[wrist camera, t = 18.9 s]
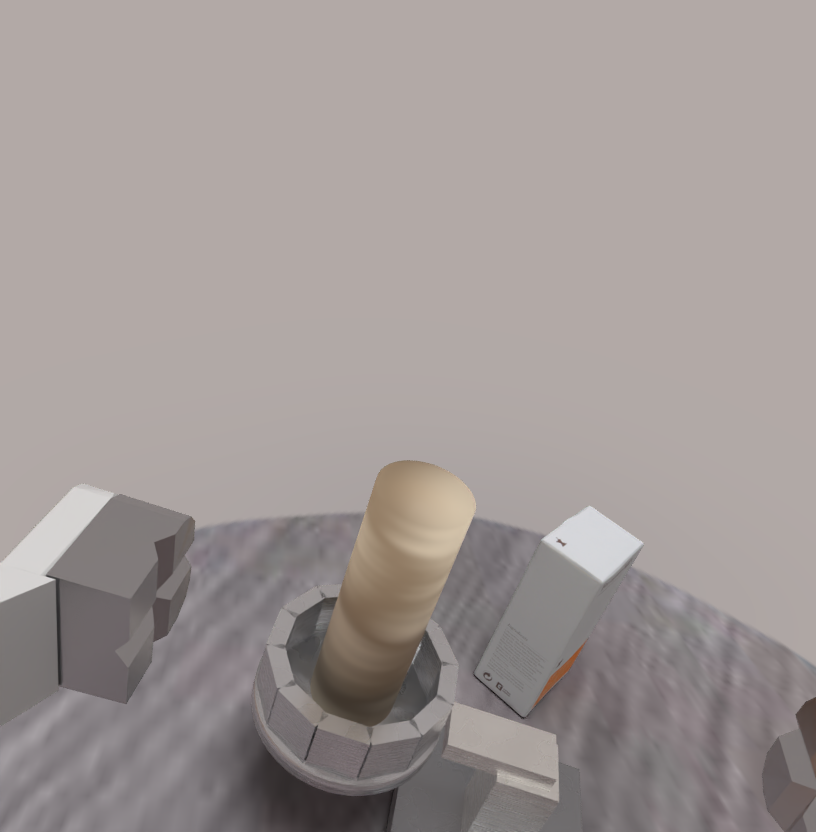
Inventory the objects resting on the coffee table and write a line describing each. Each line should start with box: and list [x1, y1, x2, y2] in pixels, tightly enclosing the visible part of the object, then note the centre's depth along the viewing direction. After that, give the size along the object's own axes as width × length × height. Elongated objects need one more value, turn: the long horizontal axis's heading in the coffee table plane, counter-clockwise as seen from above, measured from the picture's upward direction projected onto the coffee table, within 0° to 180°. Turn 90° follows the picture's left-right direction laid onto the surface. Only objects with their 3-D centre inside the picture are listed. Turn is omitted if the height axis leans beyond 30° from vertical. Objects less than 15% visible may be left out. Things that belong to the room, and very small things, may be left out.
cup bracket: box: [251, 584, 582, 832], centre depth 37 cm, size 18×10×10 cm, turn 80°
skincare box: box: [474, 506, 644, 717], centre depth 47 cm, size 6×4×12 cm
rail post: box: [310, 460, 476, 727], centre depth 32 cm, size 4×4×12 cm
